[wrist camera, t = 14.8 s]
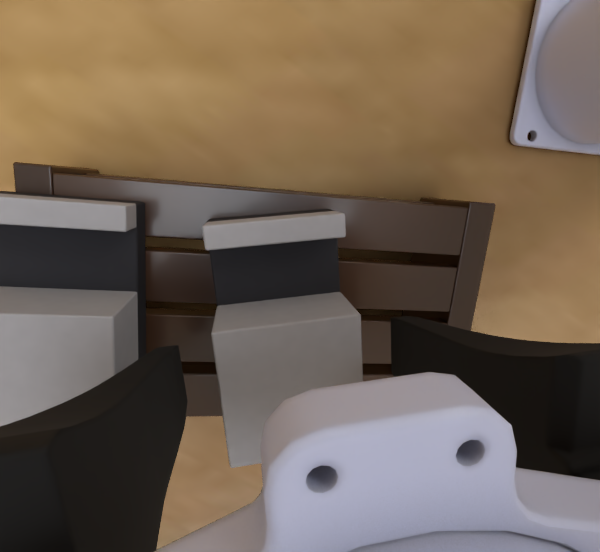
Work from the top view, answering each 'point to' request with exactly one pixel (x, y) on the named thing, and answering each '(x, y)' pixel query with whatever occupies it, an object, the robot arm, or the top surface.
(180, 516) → the top surface
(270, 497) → the robot arm
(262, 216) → the slipper
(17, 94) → the top surface
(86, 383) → the slipper
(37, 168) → the slatted wooden tray
